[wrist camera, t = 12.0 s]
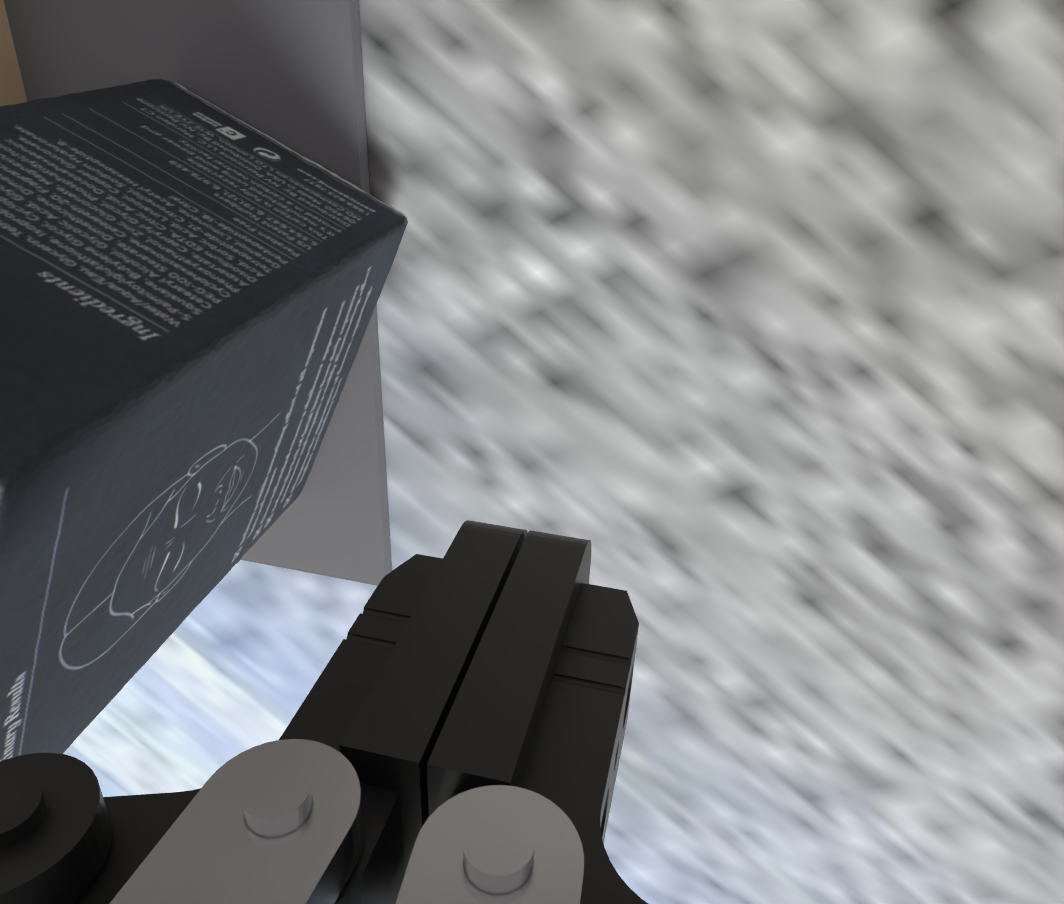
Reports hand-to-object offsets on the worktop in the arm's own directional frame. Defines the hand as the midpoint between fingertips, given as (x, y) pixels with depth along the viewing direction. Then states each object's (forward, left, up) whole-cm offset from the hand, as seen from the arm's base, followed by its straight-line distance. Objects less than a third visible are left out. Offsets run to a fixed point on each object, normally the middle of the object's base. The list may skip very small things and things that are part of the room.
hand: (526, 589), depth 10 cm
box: (+8, 0, -8) cm, 12 cm away
